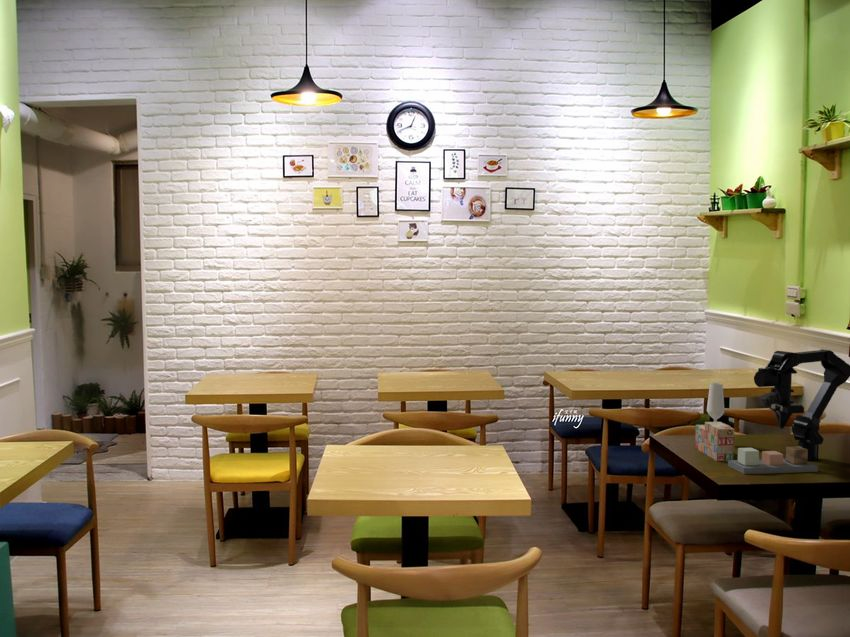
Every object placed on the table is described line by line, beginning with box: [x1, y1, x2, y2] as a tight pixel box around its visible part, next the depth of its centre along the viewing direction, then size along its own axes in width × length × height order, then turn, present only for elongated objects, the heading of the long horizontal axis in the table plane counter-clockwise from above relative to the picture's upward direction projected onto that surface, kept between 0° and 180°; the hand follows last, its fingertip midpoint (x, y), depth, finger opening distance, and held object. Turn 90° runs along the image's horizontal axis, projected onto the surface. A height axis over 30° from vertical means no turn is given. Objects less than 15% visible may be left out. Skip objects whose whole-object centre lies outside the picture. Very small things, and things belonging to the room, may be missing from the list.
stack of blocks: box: [694, 421, 735, 462], centre depth 295 cm, size 21×6×12 cm, turn 2°
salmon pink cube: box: [761, 450, 784, 465], centre depth 274 cm, size 5×5×5 cm
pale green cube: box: [737, 447, 760, 466], centre depth 273 cm, size 5×5×5 cm
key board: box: [727, 458, 819, 475], centre depth 275 cm, size 27×11×2 cm, turn 96°
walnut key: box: [785, 445, 808, 464], centre depth 275 cm, size 5×5×5 cm
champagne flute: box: [706, 382, 726, 422], centre depth 313 cm, size 7×7×24 cm
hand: (781, 428), depth 285 cm, fingers closed
